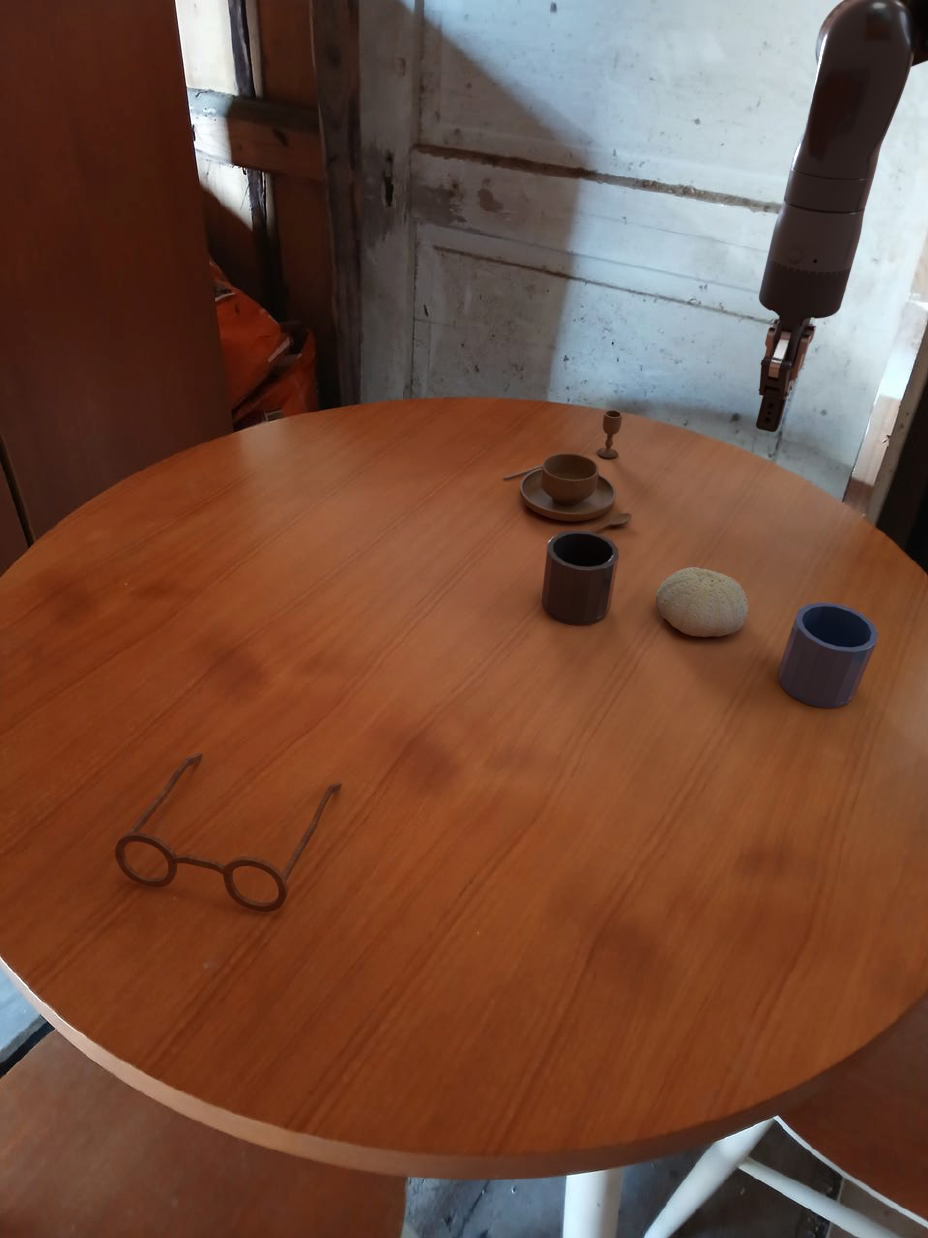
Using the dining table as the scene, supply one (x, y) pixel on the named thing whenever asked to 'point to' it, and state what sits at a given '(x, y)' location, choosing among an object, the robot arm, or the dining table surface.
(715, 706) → the dining table surface
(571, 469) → the place setting
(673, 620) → the sea urchin shell
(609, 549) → the charcoal cup
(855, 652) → the blue cup
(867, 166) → the robot arm
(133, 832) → the glasses
